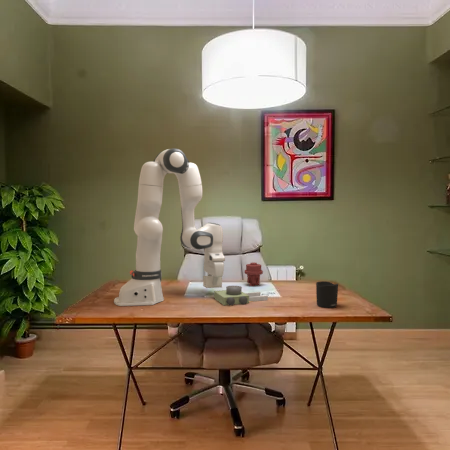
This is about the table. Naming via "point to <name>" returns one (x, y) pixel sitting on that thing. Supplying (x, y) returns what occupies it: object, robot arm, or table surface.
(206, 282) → the chute
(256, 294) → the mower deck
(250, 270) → the mechanical component
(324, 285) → the pen holder
